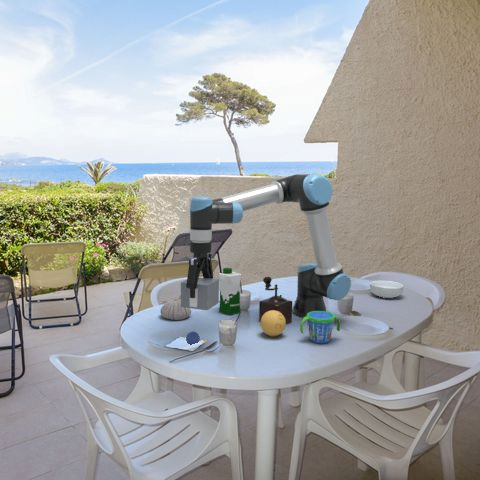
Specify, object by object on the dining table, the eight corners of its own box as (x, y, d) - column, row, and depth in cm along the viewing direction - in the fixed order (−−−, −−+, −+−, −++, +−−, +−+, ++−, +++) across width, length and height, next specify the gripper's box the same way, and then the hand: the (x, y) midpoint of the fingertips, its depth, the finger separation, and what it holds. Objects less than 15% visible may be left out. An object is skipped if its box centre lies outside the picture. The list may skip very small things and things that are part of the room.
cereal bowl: (362, 294, 239) (363, 281, 238) (386, 291, 246) (387, 279, 245) (385, 302, 224) (385, 288, 223) (409, 299, 231) (410, 286, 230)
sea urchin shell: (173, 311, 204) (173, 294, 203) (197, 316, 197) (197, 298, 196) (154, 318, 193) (153, 300, 192) (178, 324, 186) (178, 305, 185)
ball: (187, 331, 165) (191, 344, 165) (181, 335, 160) (186, 349, 160) (199, 328, 163) (203, 341, 163) (193, 332, 158) (198, 345, 158)
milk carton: (231, 308, 209) (231, 266, 207) (243, 312, 202) (244, 269, 200) (216, 311, 204) (216, 268, 201) (228, 316, 197) (229, 272, 194)
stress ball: (258, 339, 171) (271, 329, 164) (253, 316, 176) (266, 305, 169) (280, 340, 176) (293, 329, 169) (274, 317, 181) (287, 306, 174)
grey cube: (218, 303, 162) (219, 279, 161) (207, 310, 152) (207, 285, 151) (193, 299, 165) (193, 276, 164) (180, 307, 156) (180, 282, 155)
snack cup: (303, 346, 163) (304, 319, 161) (296, 336, 173) (297, 310, 172) (344, 345, 164) (345, 318, 163) (335, 335, 175) (336, 310, 173)
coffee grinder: (293, 322, 190) (295, 281, 188) (277, 327, 183) (278, 285, 180) (266, 314, 201) (267, 275, 199) (249, 319, 193) (250, 278, 191)
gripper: (204, 237, 168) (203, 294, 171) (175, 244, 146) (175, 309, 149) (222, 238, 165) (221, 296, 168) (196, 246, 144) (195, 312, 147)
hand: (200, 302), depth 159 cm, fingers closed on grey cube, 10 cm apart
